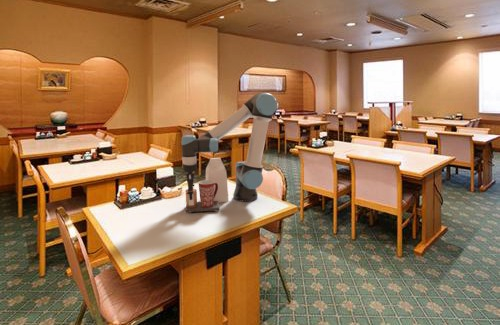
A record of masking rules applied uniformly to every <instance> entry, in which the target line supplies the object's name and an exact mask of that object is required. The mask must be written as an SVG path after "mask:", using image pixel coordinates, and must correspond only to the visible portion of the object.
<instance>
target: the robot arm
mask: <svg viewBox="0 0 500 325" xmlns="http://www.w3.org/2000/svg"><path fill="white" fill-rule="evenodd" d="M277 109H278V101H277V99H276V97H275V96H274V95H273V94H271V93H269V92H268V93H267V92H263V93H262V92H261V93H256V94H254V95H253V96H251V98H249V99H248V100H246V102H244V103H243V104H242V105H241V107H240V108H239V109H237V110H236V111H235V112H233V113H232V114H230V115H229V116H228V117H227V118H225V119H224V120H223V121H220V123H219V124H217V125H215V126H214V127H213V128H211V129H210V130H208V131H207V132H205V133H204V134H202V135H200V136H199V137H198V138H196V135H192V134H189V135H188V134H187V135H183V136H182V137H181V155H182V156H181V158H180V159H181V161H182V171H183V172H184V173H186V174H185V175H186V183H187V189H188V193H187V194H188V200H189V205H194V197H193V189H194V187H195V184H194V180H195V173H193V172H197V170H198V167H197V166H198V165H197V154H198V153H200V154H201V153H215V152H216V153H217V152H218V150H219V141H220V140H221V139H222V138H224V137H225V136H226V135H228V134H229V133H231V132H233V130H235V129H236V128H237V127H239V126H240V125H241V124H243V123H244V122H245V121H247V120H248V119H252V118H253V121H252V127H251V134H250V139H249V143H248V149H247V154H246V155H247V156H246V159H245V161H237V162H236V163H235V188H234V191H233V194H232V196H233V199H234V200H235V201H238V202H252V201H255V200H257V199H258V191H257V188H259V187H261V185H262V183H263V181H264V177H263V176H264V175H263V168H264V166H263V164H262V160H263V159H262V158H263V154H264V150H265V149H264V148H265V145H266V139H267V135H268V128H269V124H270V122H271V121H272V120H273V116H274V113H275V112H276V111H277ZM189 191H192V192H189Z"/></svg>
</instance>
